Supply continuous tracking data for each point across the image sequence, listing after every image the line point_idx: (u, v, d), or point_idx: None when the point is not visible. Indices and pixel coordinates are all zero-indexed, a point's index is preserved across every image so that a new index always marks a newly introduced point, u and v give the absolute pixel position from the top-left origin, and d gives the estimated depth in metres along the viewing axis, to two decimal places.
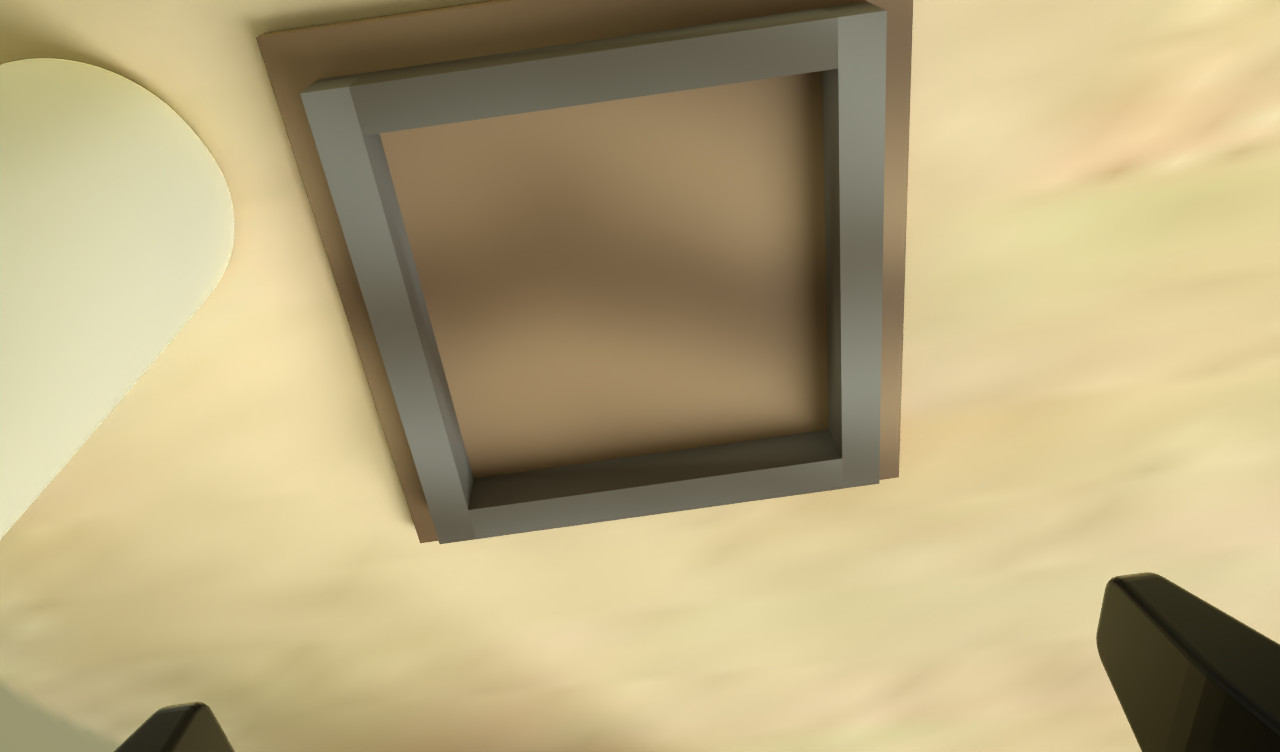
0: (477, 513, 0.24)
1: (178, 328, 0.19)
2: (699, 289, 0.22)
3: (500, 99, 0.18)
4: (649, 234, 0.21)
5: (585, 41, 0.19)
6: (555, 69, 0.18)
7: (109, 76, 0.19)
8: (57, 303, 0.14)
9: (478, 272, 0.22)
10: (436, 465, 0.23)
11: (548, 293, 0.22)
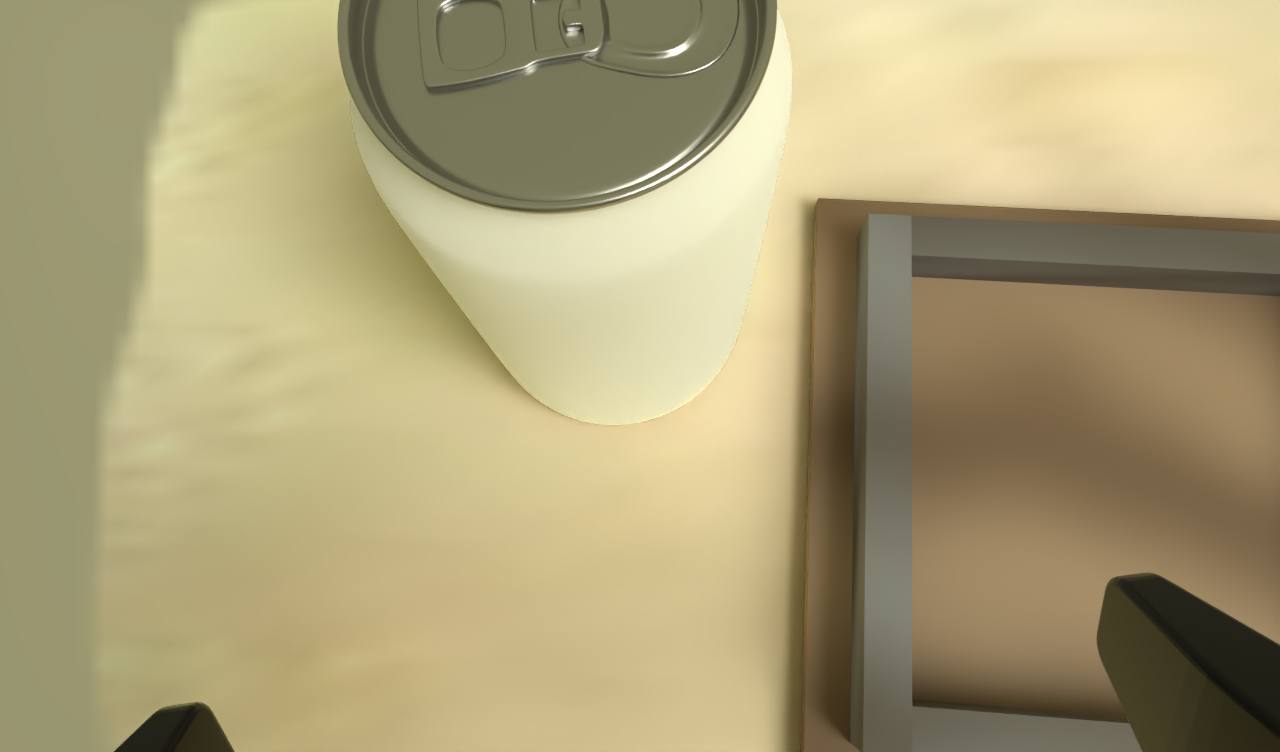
0: (922, 715, 0.18)
1: (712, 356, 0.19)
2: (1193, 503, 0.20)
3: (1040, 247, 0.21)
4: (1141, 431, 0.21)
5: None
6: (1093, 233, 0.21)
7: None
8: None
9: (958, 435, 0.21)
10: (889, 626, 0.19)
11: (1027, 472, 0.21)
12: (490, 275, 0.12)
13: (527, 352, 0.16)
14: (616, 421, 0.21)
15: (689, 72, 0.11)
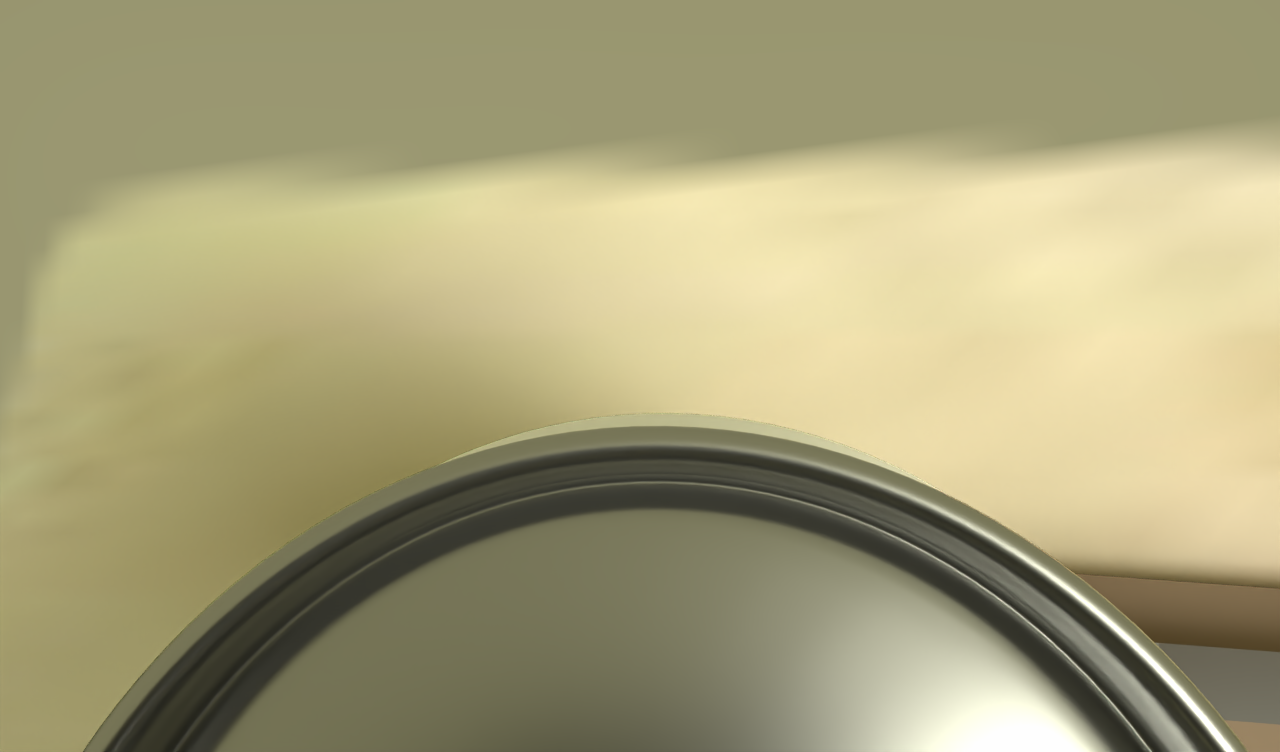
0: None
1: None
2: None
3: None
4: None
5: None
6: None
7: None
8: None
9: None
10: None
11: None
12: None
13: None
14: None
15: None
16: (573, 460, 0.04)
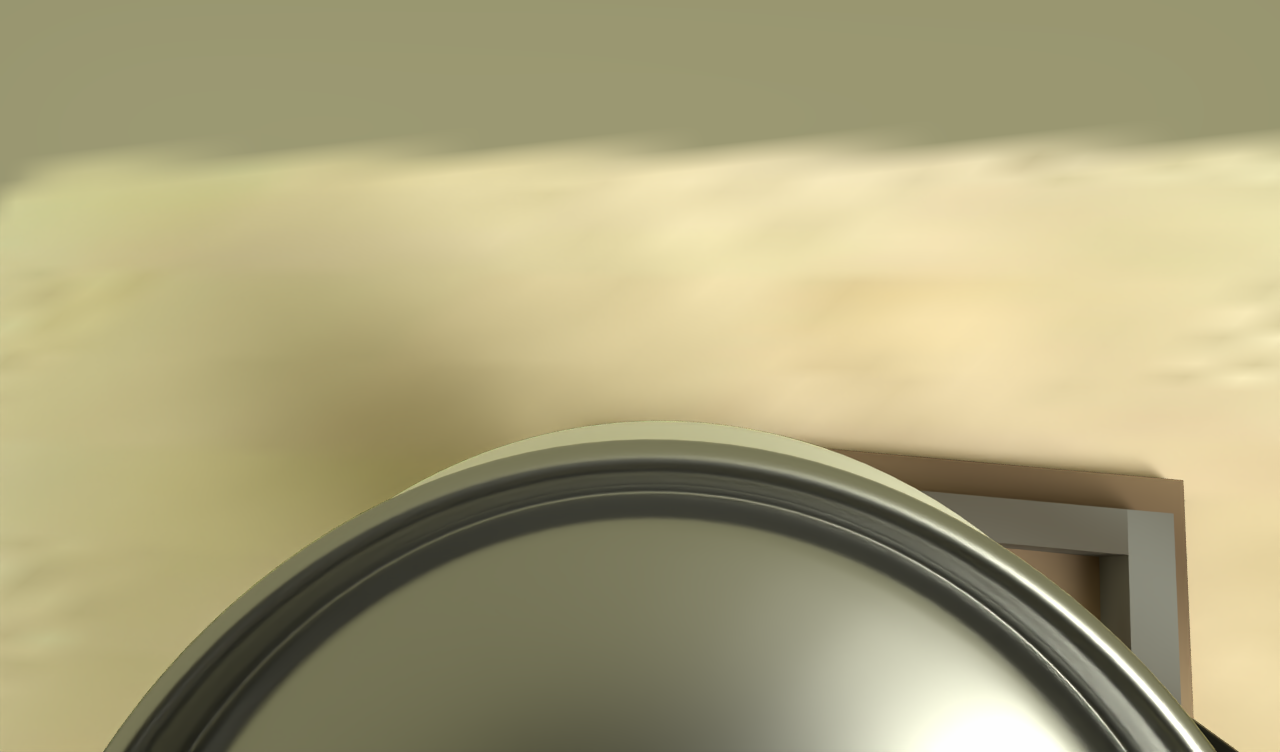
0: None
1: None
2: None
3: None
4: None
5: None
6: None
7: None
8: None
9: None
10: None
11: None
12: None
13: None
14: None
15: None
16: (583, 471, 0.04)
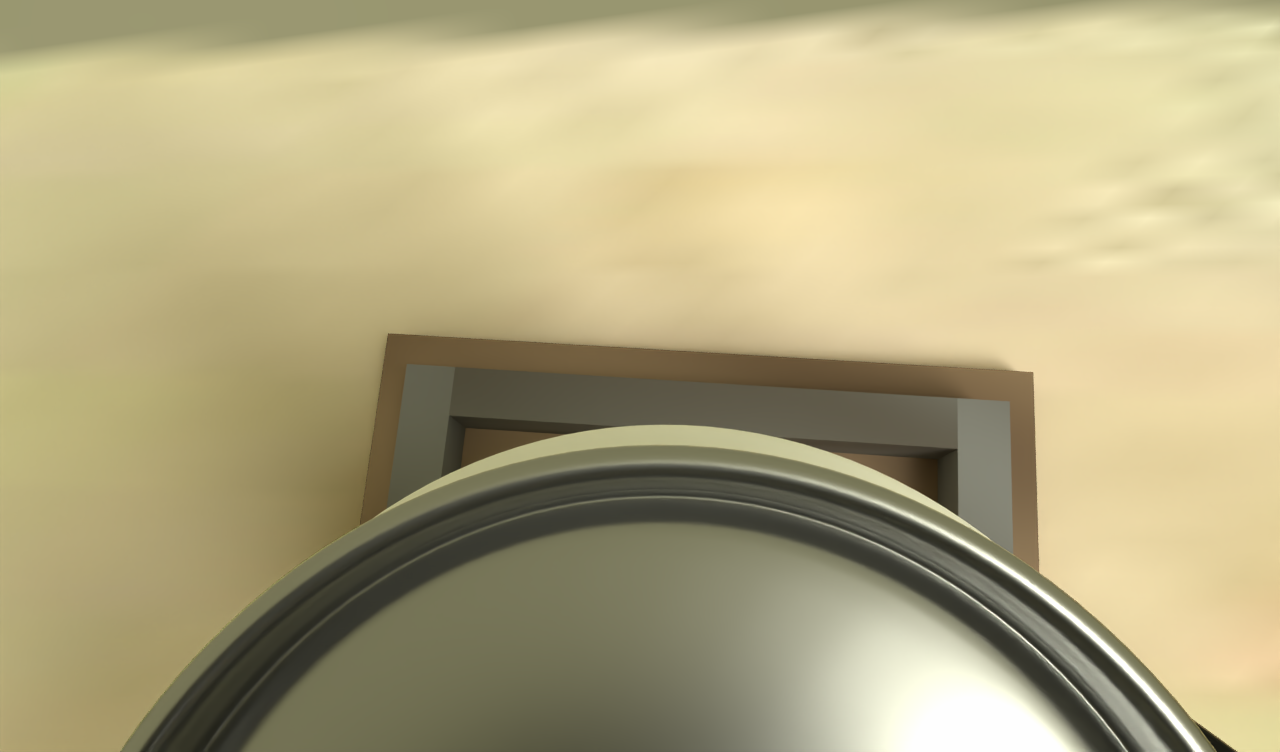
0: None
1: None
2: None
3: (597, 408, 0.18)
4: None
5: None
6: (660, 391, 0.18)
7: None
8: None
9: None
10: None
11: None
12: None
13: None
14: None
15: None
16: (597, 476, 0.04)
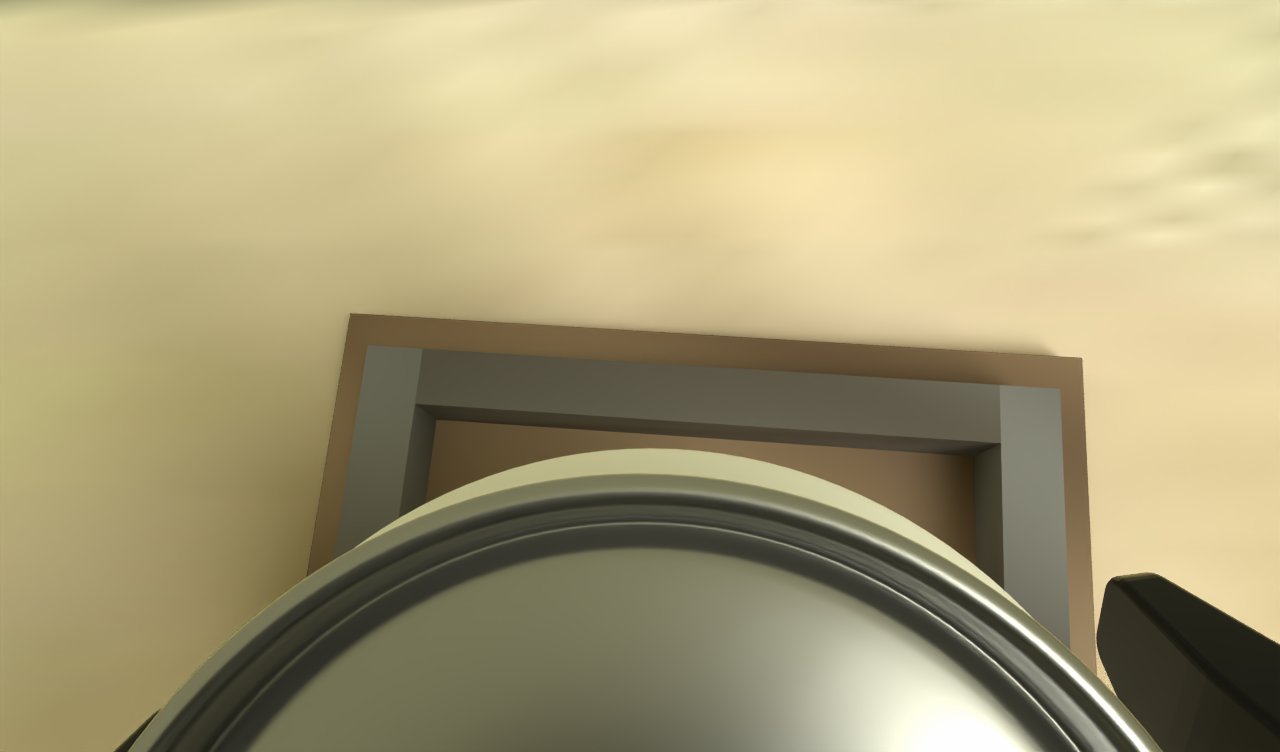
0: None
1: None
2: None
3: (585, 395, 0.15)
4: None
5: None
6: (658, 376, 0.15)
7: None
8: None
9: None
10: None
11: None
12: None
13: None
14: None
15: None
16: (582, 503, 0.04)
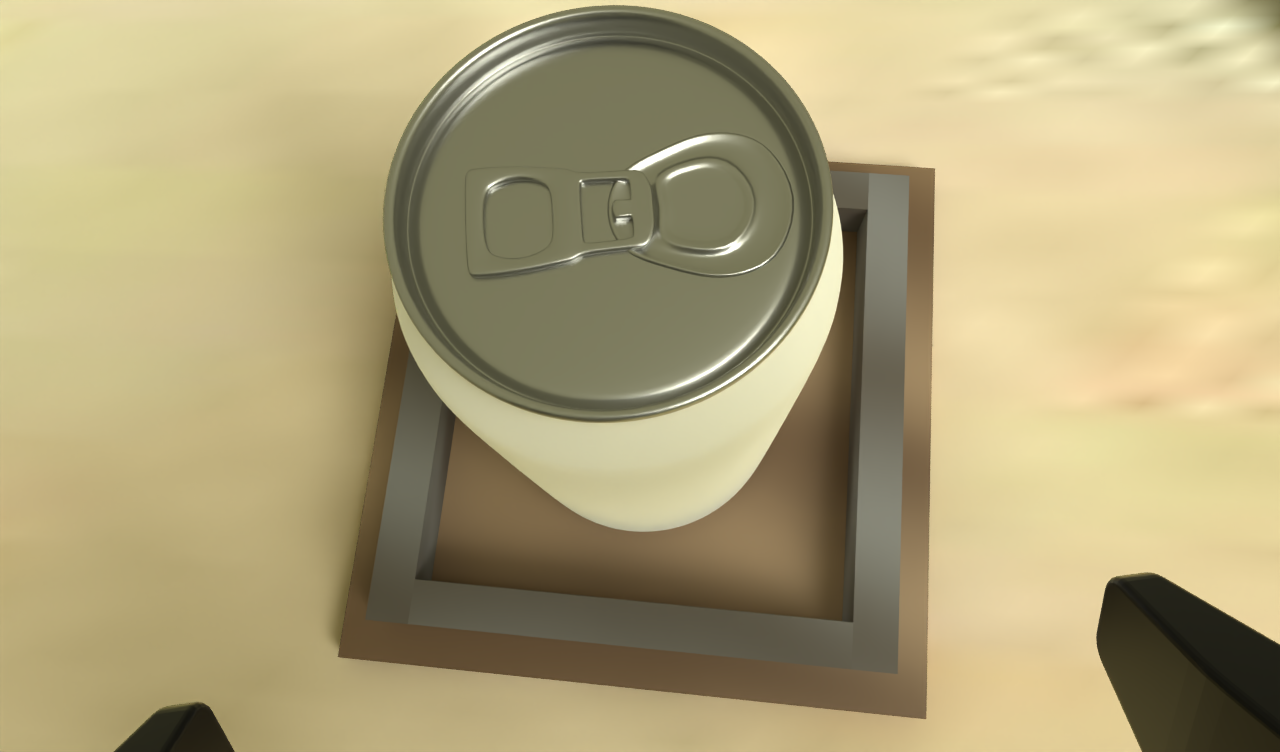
0: (422, 587, 0.20)
1: (740, 483, 0.19)
2: None
3: None
4: None
5: None
6: None
7: None
8: None
9: None
10: (405, 509, 0.21)
11: None
12: (524, 456, 0.12)
13: (555, 492, 0.16)
14: (639, 530, 0.21)
15: (740, 273, 0.11)
16: (591, 16, 0.12)
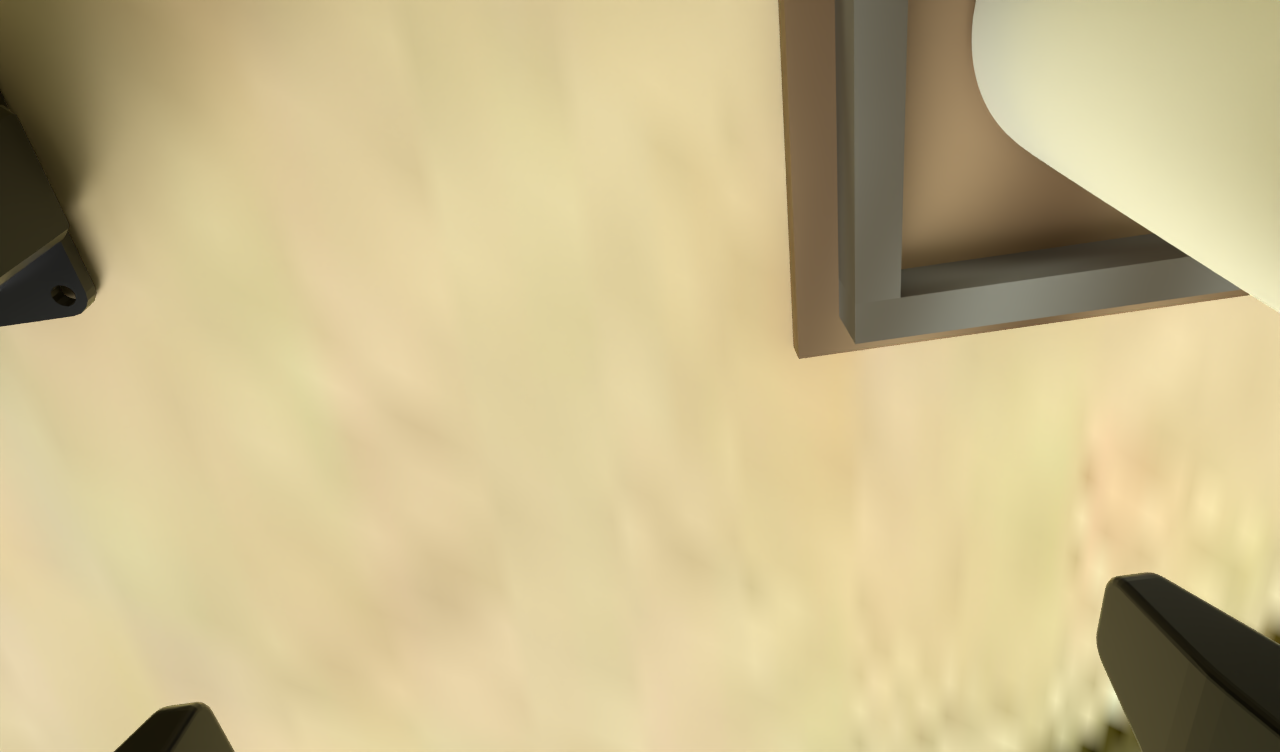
0: None
1: (1081, 185, 0.16)
2: None
3: None
4: None
5: None
6: None
7: None
8: None
9: None
10: None
11: None
12: None
13: (1164, 21, 0.12)
14: (981, 45, 0.17)
15: None
16: None
